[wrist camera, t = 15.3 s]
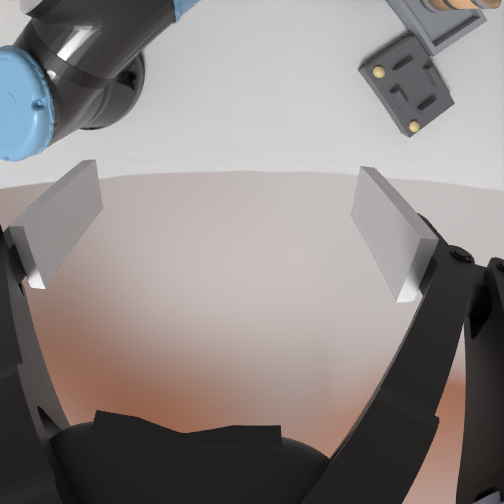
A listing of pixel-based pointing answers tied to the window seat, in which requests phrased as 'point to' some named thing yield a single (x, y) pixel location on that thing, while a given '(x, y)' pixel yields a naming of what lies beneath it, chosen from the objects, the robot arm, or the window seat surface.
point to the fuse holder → (407, 85)
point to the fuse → (459, 4)
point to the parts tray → (436, 24)
